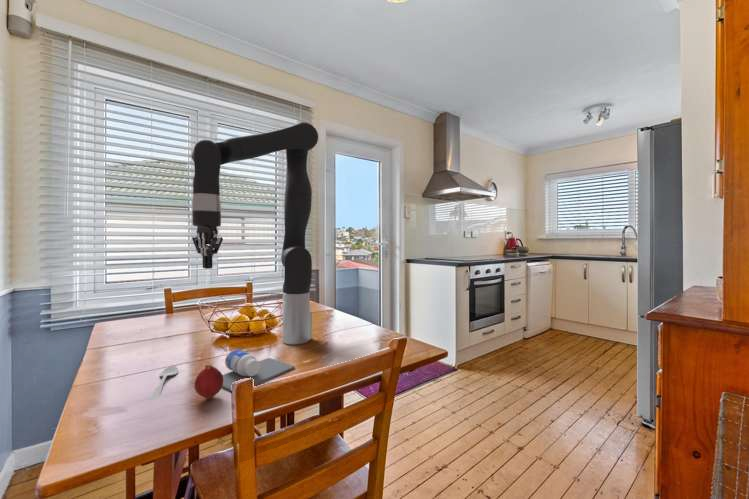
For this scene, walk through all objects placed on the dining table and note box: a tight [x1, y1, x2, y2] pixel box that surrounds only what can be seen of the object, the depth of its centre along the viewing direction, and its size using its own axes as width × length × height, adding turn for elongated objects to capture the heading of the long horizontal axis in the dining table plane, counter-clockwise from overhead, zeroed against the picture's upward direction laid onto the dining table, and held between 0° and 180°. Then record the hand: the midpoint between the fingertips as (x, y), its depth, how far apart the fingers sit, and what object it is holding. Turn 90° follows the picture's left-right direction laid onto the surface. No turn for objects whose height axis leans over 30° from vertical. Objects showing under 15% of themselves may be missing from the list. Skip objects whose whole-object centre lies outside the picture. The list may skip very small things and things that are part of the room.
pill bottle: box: [224, 348, 260, 376], centre depth 86 cm, size 6×5×10 cm
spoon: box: [149, 365, 179, 401], centre depth 80 cm, size 4×21×2 cm, turn 19°
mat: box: [221, 357, 296, 393], centre depth 86 cm, size 18×11×1 cm, turn 146°
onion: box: [194, 363, 224, 400], centre depth 73 cm, size 6×6×8 cm
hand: (207, 268), depth 97 cm, fingers closed
